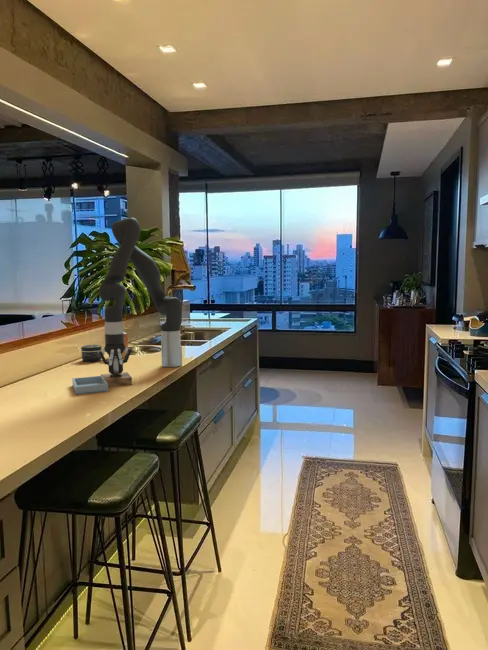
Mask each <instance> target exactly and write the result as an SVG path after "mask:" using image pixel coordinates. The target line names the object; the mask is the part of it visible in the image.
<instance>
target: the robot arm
mask: <svg viewBox="0 0 488 650" xmlns="http://www.w3.org/2000/svg"><path fill="white" fill-rule="evenodd" d="M111 232H112V234H113V237H114V239H115V240H116V241H117V243H118V244H119V246H120V247H119V248H118V249H117V251H116V252H115V254H114V255H113V256H112V259H111V261H110V264H109V267H108V272H107V275H106V276H105V277H104V279H103V281H102V282H101V284H100V286H99V289H98V296H99V298H100V299H101V300H102V301H104V302H114V303H113V305H112V306H108V307H105V308H104V343H105V345H104V348H103V349H102V350H101V351H98V353H99V355H100V357H101V360H102V362H103V364H104V365H107V366H108V372H109V373H108V374H113V366H112V360H113V357H115V356H116V357H119V369H120V373H123V372H124V364H125V363H128V360H129V358H130V355H131V353H132V349H131V348H130V347H128V348H126V347H125V345H124V333H125V329H124V322H123V321H124V320H123V308H124V303H125V300H126V295H127V291H126V287H125V286H124V284H122V282H124V280H125V278H126V274H127V270H128V266H129V263H130V262H131V264H132V265H133V267H134V269H135V271H136V272H137V275H138V276H139V278H140V279H141V280H142V282H143V284H144V286H145V288H146V290H147V291H148V293H149V295H150V298H151V299H152V302H153V303H154V306H155V308H156V310H157V312H158V314H159V315H162V316H165V317H166V320H165V321H164V323H162V324H161V326H160V343H161V344H160V346H161V347H160V348H161V349H160V350H161V353H160V354H161V367H165V368H177V367H181V366H183V346H182V345H181V325H182V323H183V322H182V321H183V320H182V319H183V306H182V302H181V300H180V298H178V297H175V296H174V297H173V296H167V294H166V293H165V291H164V289H163V287H162V284H161V280H162V277H161V272H160V269H159V267H158V265H157V264H156V262H155V260H154V259H153V258H152V257H151V256H150V255H149V254H147V253H146V252H144V251H143V250H141V248H139V247H138V246H137V245H136V244H137V242H138V241H139V238H140V235H141V224H140V222H139V221H138V220H137V219H136V218H135V217H126V218H124V219H120V220H117V221H115V222H113V223H112V225H111ZM124 350H125V352H126V355H125V357H124V358H122V356H121V355H122V353H123V352H124ZM105 353H106V354H107V355H108V360H107V359H106V357H105Z"/></svg>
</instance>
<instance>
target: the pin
mask: <svg viewBox="0 0 488 650" xmlns="http://www.w3.org/2000/svg"><path fill="white" fill-rule="evenodd" d="M112 366H113V374H112V377H120V369H119V357H116V356H115V357H113V360H112Z"/></svg>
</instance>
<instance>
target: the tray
mask: <svg viewBox="0 0 488 650" xmlns="http://www.w3.org/2000/svg"><path fill="white" fill-rule="evenodd" d="M72 387H73V391H74V394H75V396H78V395H86V394H88V395H89V394H99V393H107V392H109V387H108V383H107V382H106V380H105V378H104V379H103V377H102V376H101V375H97V376H83V377H82V376H81V377H73V378H72Z"/></svg>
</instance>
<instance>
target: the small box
mask: <svg viewBox="0 0 488 650" xmlns="http://www.w3.org/2000/svg"><path fill="white" fill-rule="evenodd" d="M128 341H129V338H128V333H127V332H124V345H125V347H126V348H129V342H128ZM125 355H126V352H125V350H124V352H123V353H122V355H121V356H122V359H124V357H125Z"/></svg>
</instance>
